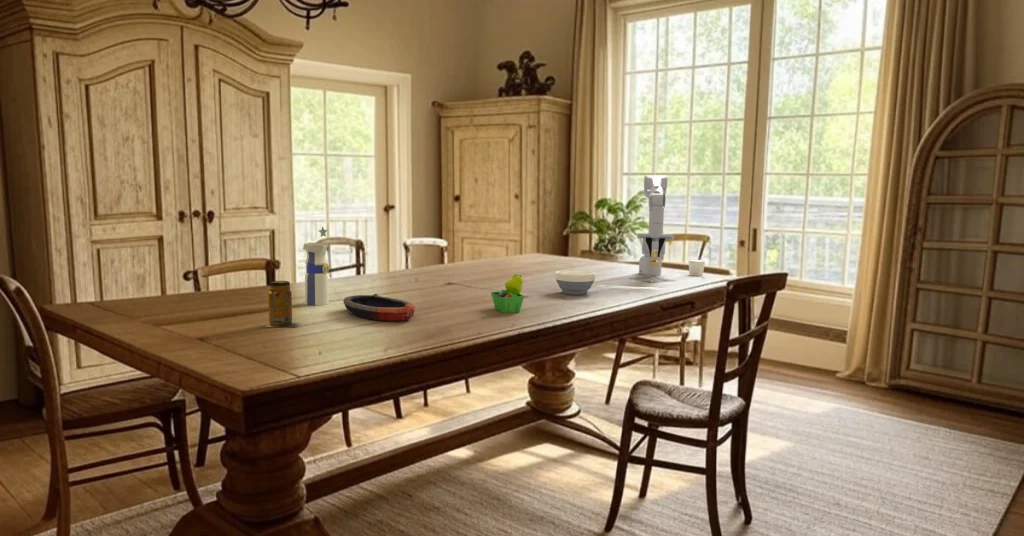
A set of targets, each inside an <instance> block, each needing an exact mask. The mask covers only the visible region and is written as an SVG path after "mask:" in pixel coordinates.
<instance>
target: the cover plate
mask: <svg viewBox="0 0 1024 536" xmlns="http://www.w3.org/2000/svg"><path fill="white" fill-rule="evenodd" d="M628 280H633V281H638V282H644V283H649V284H657V283H670V282H677V280H676V279H675V280H674V279H669V278H665V277H658V276H643V277H632V278H628Z"/></svg>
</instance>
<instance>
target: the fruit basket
mask: <svg viewBox="0 0 1024 536" xmlns="http://www.w3.org/2000/svg"><path fill="white" fill-rule="evenodd" d="M522 276H523V275H521V274H518V273H517V274H515V273H514V275H513V276H512V278H510V279H508V280H506V282H505V283H504V287H505V289H501V291H492V292H490V295H491V297H492V301H493V306H494V309H496V310H498V311H500V312H502V313H504V314H507V313H508V314H509V313H520V312H521V308H522V305H523V302H524V299H525V296H524V295H523V294H522V293H521V292H522V290H523V283H524V279H523V278H522ZM520 293H521V294H520Z"/></svg>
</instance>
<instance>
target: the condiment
mask: <svg viewBox="0 0 1024 536" xmlns="http://www.w3.org/2000/svg"><path fill="white" fill-rule="evenodd" d="M290 284H291V282H290V281H289V280H273V281H270V282H269V291H268V321H269V323H268V324H267V325H265V328H283V327H298V326H299V325H301V324H302V322H303V321H293V305H292V304H293V302H292V300H293V299H292V291H291V285H290Z"/></svg>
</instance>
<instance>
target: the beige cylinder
mask: <svg viewBox="0 0 1024 536" xmlns="http://www.w3.org/2000/svg"><path fill="white" fill-rule="evenodd" d="M705 263H706V261H705V260H702V259H689V260H688V272H689V274H688V275H689V276H698V277H704V276H703V275H704V269H705Z"/></svg>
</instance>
